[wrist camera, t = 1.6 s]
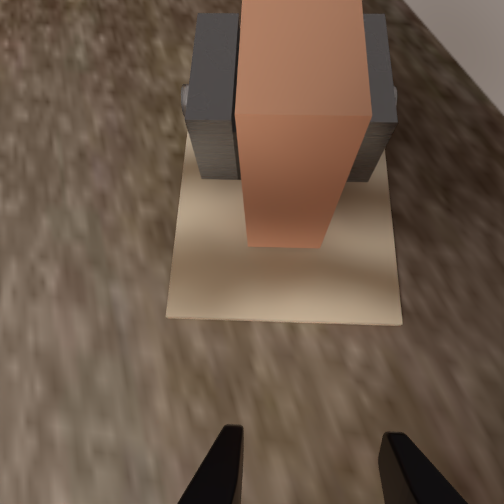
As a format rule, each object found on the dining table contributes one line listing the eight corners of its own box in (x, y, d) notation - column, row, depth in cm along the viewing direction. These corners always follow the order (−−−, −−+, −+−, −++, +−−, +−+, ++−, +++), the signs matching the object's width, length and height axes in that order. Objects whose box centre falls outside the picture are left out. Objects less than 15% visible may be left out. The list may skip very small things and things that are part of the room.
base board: (399, 325, 23) (402, 324, 22) (168, 318, 23) (165, 316, 23) (375, 80, 29) (377, 74, 29) (195, 78, 30) (194, 72, 29)
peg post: (319, 248, 24) (372, 115, 12) (247, 246, 24) (234, 114, 12) (317, 166, 26) (360, -12, 14) (251, 165, 26) (243, -11, 15)
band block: (382, 182, 25) (417, 122, 20) (187, 178, 26) (166, 119, 20) (373, 89, 28) (401, 13, 23) (197, 87, 29) (181, 13, 23)
